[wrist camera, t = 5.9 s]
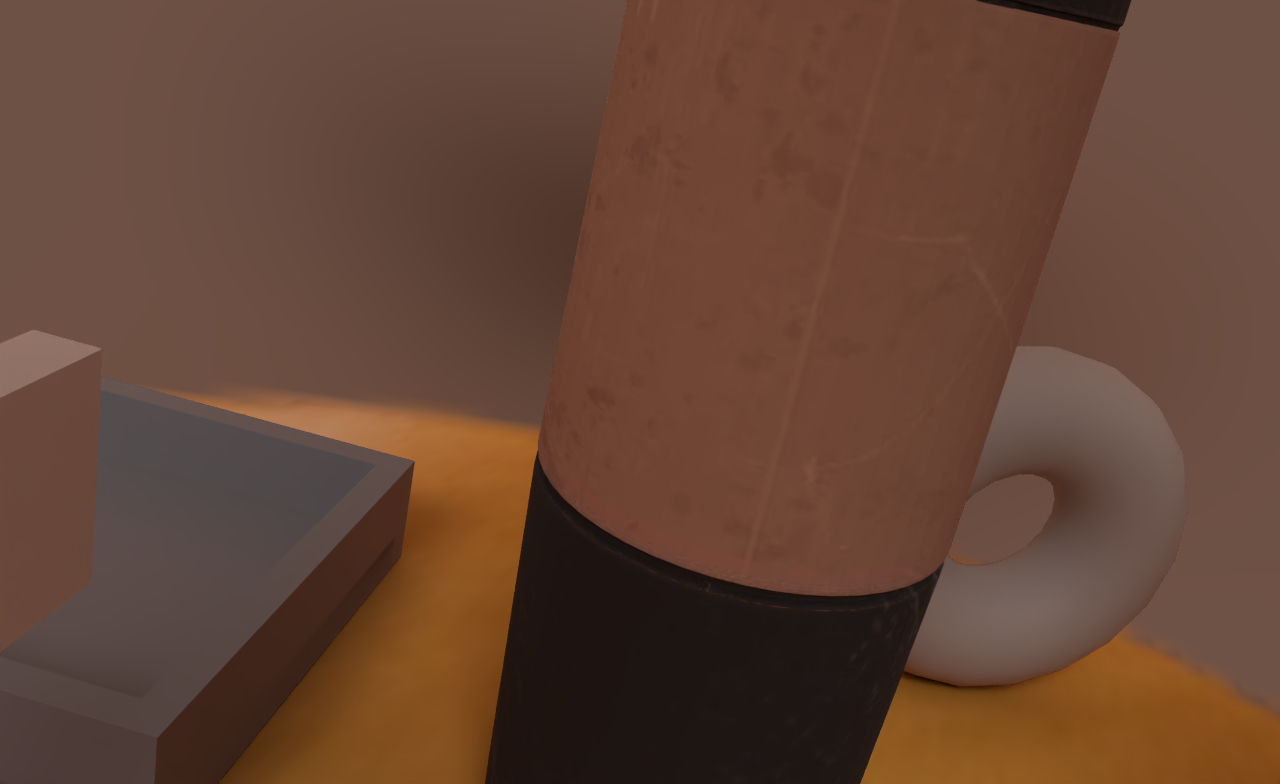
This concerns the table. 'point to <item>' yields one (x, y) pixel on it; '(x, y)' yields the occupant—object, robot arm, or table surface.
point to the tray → (196, 592)
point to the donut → (1061, 526)
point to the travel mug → (780, 373)
